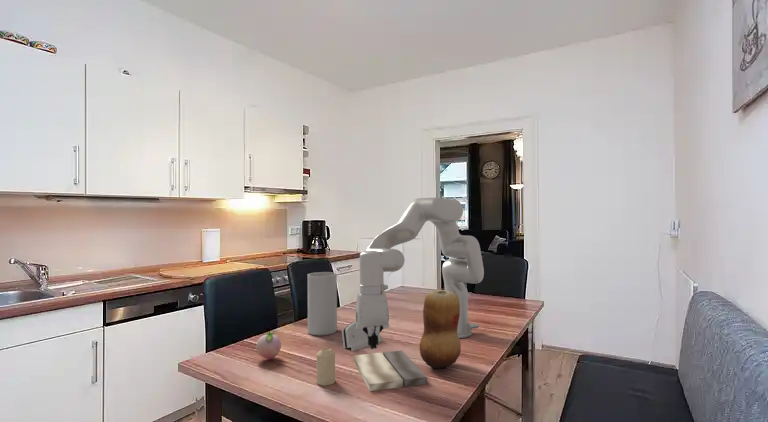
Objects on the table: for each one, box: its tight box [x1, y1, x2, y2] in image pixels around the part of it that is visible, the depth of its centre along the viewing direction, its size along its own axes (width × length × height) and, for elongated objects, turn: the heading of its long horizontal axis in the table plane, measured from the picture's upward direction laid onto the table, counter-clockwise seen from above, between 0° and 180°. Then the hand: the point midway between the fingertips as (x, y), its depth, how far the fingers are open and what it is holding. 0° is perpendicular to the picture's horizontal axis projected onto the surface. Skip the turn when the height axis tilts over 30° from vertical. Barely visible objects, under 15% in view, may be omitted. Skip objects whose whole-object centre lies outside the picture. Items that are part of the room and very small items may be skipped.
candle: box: [316, 346, 336, 387], centre depth 118 cm, size 6×6×10 cm
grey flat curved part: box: [341, 321, 383, 352], centre depth 153 cm, size 17×5×10 cm, turn 136°
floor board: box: [382, 349, 428, 387], centre depth 127 cm, size 7×24×2 cm, turn 16°
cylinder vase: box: [307, 271, 338, 337], centre depth 170 cm, size 12×12×25 cm
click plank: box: [352, 352, 404, 392], centre depth 124 cm, size 10×24×2 cm, turn 16°
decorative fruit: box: [255, 330, 282, 361], centre depth 137 cm, size 9×8×10 cm
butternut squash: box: [418, 289, 462, 369], centre depth 129 cm, size 14×13×25 cm
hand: (373, 347), depth 124 cm, fingers closed
